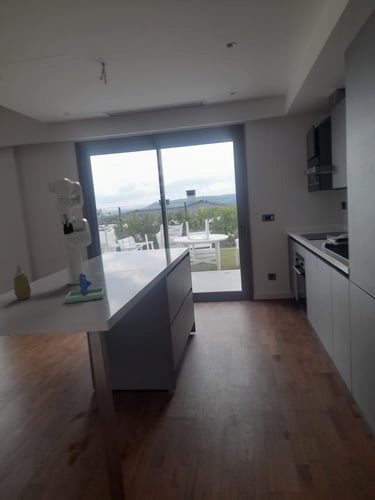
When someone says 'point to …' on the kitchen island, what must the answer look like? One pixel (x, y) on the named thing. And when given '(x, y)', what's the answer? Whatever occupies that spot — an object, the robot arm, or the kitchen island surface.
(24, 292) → the squeeze bottle
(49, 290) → the kitchen island surface
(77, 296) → the tray
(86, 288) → the grapes
